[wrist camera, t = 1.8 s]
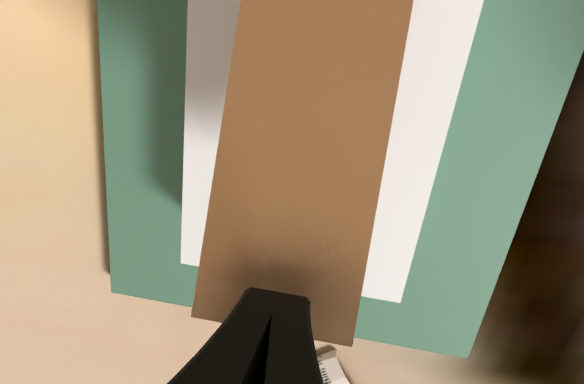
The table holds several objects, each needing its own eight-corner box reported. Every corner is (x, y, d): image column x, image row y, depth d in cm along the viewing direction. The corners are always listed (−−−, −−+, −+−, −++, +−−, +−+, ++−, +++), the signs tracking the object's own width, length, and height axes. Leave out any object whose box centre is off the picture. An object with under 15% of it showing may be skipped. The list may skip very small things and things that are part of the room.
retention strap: (437, -149, 13) (442, -163, 13) (351, 338, 14) (351, 347, 13) (272, -171, 13) (269, -186, 13) (197, 310, 14) (191, 316, 14)
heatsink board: (784, -526, 12) (999, -748, 8) (465, 345, 25) (483, 437, 21) (83, -587, 13) (-55, -813, 9) (118, 281, 26) (67, 356, 21)
